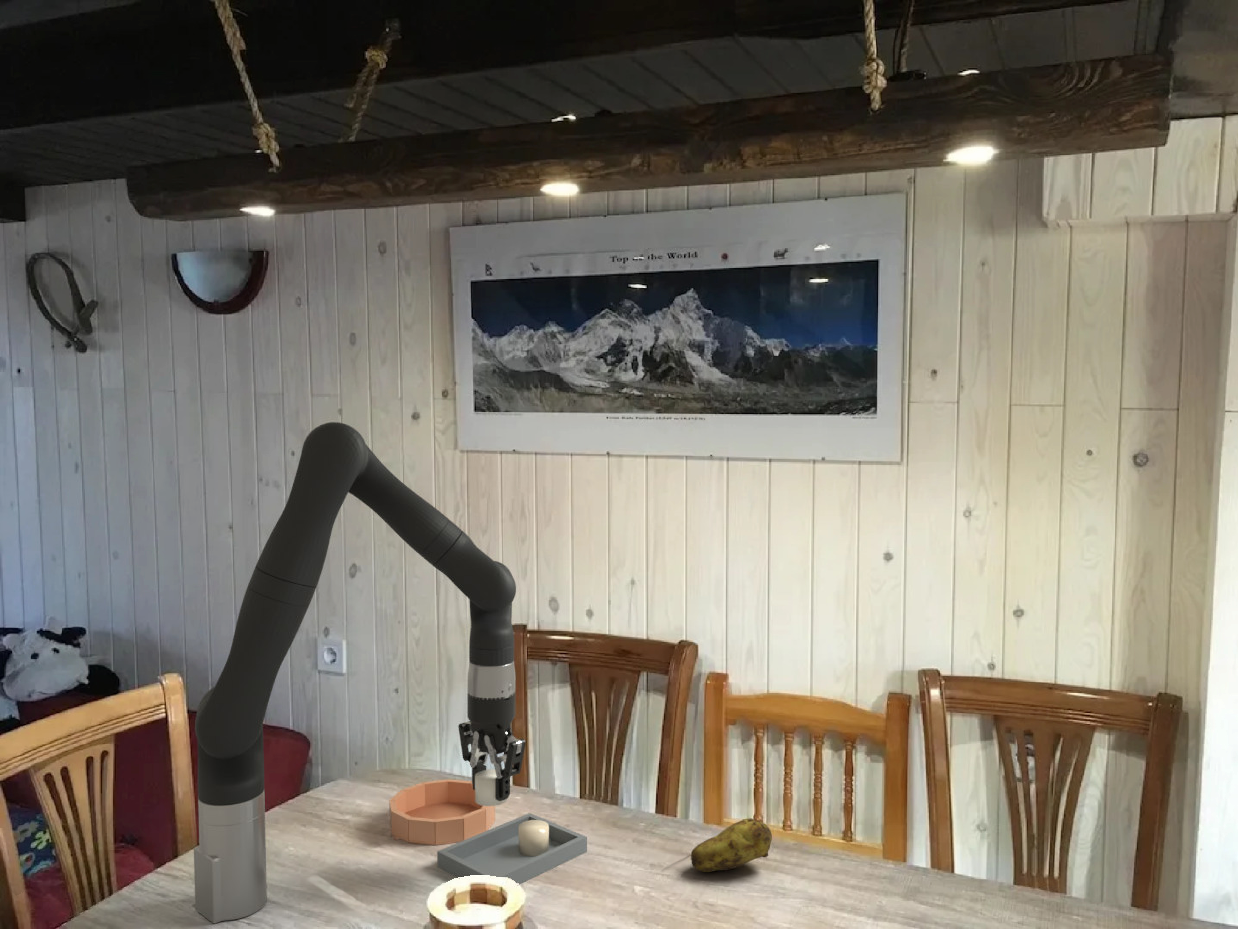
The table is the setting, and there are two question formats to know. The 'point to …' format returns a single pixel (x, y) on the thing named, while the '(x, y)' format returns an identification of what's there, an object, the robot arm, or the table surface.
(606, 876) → the table surface
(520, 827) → the pebble
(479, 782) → the pebble
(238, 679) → the robot arm
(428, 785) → the bowl
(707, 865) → the potato
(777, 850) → the table surface
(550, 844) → the tray
